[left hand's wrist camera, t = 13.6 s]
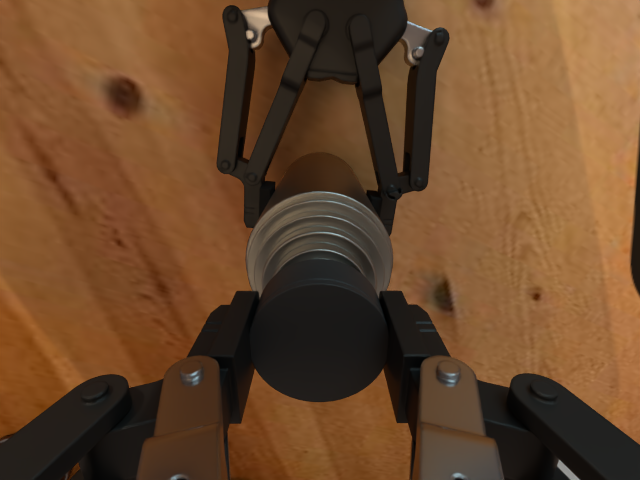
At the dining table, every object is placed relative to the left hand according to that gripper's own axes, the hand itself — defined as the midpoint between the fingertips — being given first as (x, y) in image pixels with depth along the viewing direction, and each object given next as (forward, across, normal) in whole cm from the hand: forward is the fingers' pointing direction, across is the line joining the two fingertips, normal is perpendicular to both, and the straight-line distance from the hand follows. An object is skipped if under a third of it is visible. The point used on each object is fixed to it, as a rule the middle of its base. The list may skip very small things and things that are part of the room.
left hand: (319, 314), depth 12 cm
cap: (-2, 0, 0) cm, 2 cm away
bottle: (+20, 0, 0) cm, 20 cm away
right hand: (+14, 0, -5) cm, 15 cm away
